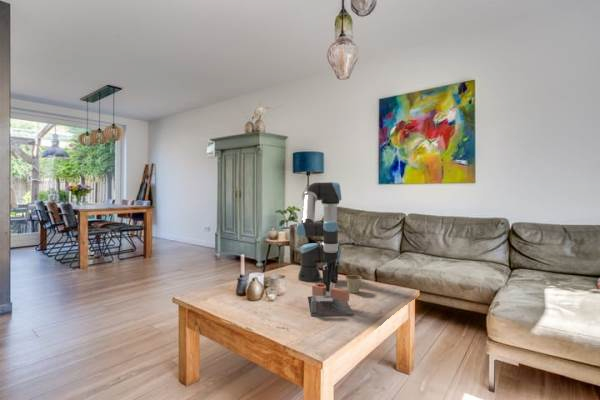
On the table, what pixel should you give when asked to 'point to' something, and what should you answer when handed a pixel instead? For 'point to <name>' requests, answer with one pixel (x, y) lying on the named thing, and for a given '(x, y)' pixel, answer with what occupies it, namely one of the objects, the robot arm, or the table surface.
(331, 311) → the pintle base
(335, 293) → the link
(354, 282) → the flower pot
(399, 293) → the table surface
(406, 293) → the table surface
